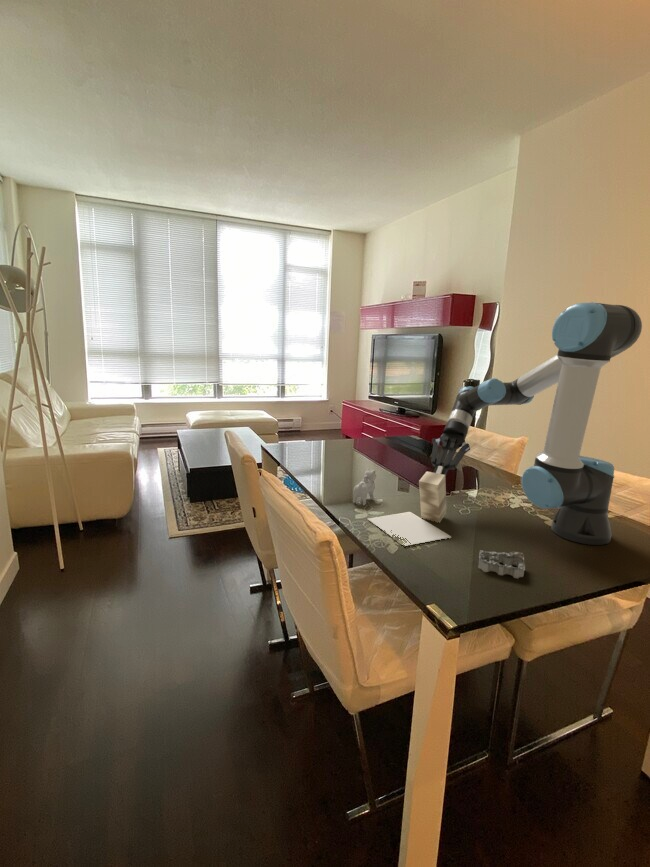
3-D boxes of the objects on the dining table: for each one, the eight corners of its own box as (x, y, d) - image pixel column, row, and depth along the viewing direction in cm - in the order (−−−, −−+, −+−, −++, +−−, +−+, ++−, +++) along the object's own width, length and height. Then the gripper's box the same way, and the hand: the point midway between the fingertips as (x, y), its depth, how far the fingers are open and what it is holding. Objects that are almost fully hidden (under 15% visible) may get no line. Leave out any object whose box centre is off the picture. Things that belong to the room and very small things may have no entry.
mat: (451, 538, 120) (451, 536, 120) (404, 547, 114) (404, 546, 114) (409, 513, 138) (410, 511, 138) (367, 520, 132) (367, 518, 132)
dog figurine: (378, 496, 154) (380, 468, 152) (365, 507, 143) (366, 476, 141) (365, 493, 156) (366, 465, 154) (350, 504, 145) (351, 474, 143)
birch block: (446, 511, 135) (445, 474, 129) (439, 523, 131) (437, 485, 125) (428, 507, 139) (426, 471, 133) (421, 518, 134) (418, 481, 128)
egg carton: (524, 568, 105) (526, 552, 105) (523, 582, 99) (526, 566, 98) (479, 557, 110) (480, 543, 109) (475, 571, 103) (477, 555, 102)
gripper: (478, 435, 143) (457, 495, 133) (441, 430, 151) (419, 486, 141) (475, 422, 138) (452, 483, 128) (436, 417, 145) (413, 475, 136)
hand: (435, 485), depth 135 cm, fingers closed
